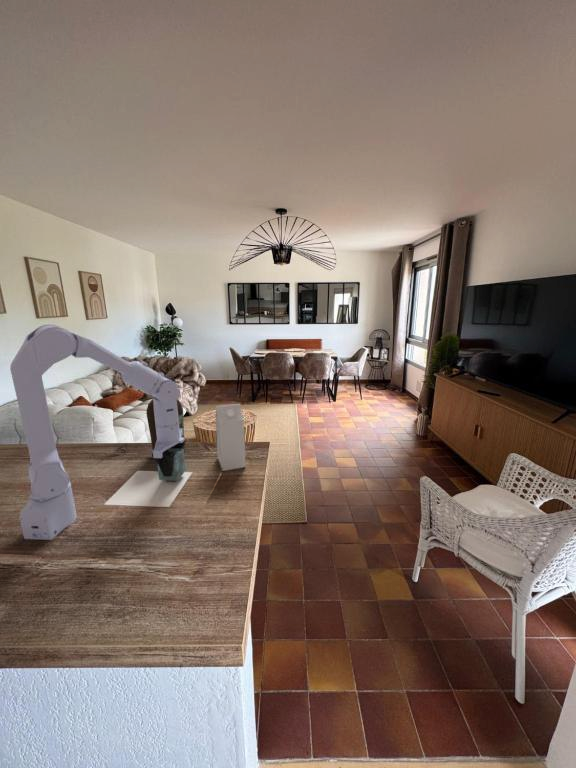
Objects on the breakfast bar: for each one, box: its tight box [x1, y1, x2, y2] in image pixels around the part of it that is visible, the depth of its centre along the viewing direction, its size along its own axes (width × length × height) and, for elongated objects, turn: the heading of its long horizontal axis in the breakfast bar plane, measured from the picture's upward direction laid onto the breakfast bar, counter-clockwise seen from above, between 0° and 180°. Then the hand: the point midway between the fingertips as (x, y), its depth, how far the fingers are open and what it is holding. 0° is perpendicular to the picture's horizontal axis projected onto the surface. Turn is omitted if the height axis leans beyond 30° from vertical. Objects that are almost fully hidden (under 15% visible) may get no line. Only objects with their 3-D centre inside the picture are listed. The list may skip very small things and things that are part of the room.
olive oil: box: [145, 397, 186, 456], centre depth 101 cm, size 11×11×25 cm
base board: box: [103, 470, 193, 508], centre depth 85 cm, size 16×16×1 cm
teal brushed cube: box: [156, 448, 187, 480], centre depth 88 cm, size 5×5×7 cm
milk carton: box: [214, 403, 246, 472], centre depth 97 cm, size 7×7×19 cm
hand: (172, 470), depth 88 cm, fingers closed on teal brushed cube, 5 cm apart
